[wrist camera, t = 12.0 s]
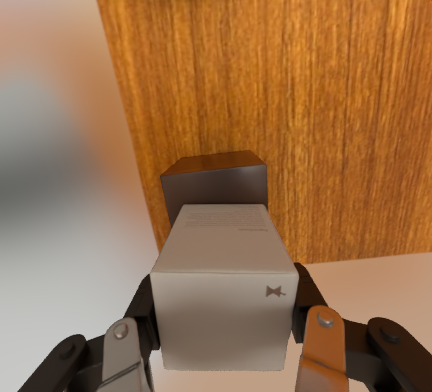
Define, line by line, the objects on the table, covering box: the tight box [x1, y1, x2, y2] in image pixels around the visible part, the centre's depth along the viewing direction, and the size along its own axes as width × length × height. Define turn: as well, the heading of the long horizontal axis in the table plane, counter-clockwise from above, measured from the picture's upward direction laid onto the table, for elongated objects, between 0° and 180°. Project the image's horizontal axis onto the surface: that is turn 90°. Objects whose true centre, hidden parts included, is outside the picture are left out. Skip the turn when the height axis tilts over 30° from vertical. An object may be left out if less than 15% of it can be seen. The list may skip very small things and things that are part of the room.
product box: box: [150, 204, 299, 371], centre depth 12 cm, size 6×6×7 cm
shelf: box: [160, 150, 268, 229], centre depth 19 cm, size 8×11×8 cm
